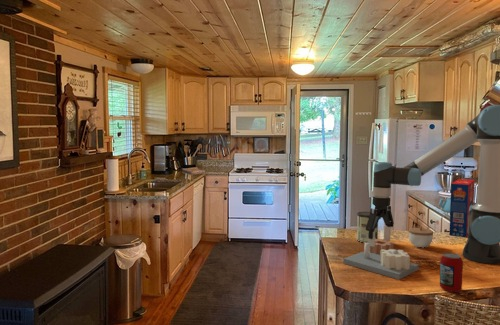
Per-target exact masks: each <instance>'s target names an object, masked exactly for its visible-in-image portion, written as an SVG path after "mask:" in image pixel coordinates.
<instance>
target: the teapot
mask: <svg viewBox="0 0 500 325" xmlns="http://www.w3.org/2000/svg"><path fill="white" fill-rule="evenodd" d="M450 204H451V197H450V198H449V197H447V198H446V199H443V198H441V199H439V202H438V206H439V207H440V208H441V209H442V211H443V212H444V213H448V214H450Z"/></svg>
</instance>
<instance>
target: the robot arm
mask: <svg viewBox="0 0 500 325" xmlns="http://www.w3.org/2000/svg"><path fill="white" fill-rule="evenodd" d="M475 143H479V144H480V148H479V160H478V161H479V163H478V174H477V176H478V177H477V179H478V180H477V192H476V203H474V205H471V206H470V207H469V211H468V212H469V223H468V236H467V240H466V241H465V244H464V247H463V249H462V257H463V258H465V259H466V260H469V261H472V262H477V263H483V264H490V265H491V264H492V265H493V264H494V265H496V264H497V265H498V264H500V104H492V105H489V106H486V107H484V108H483V109H482V110H481V111H480V112H479V113H478V115H476V116H475V117H474V118H473V119H472V120H471V121H469V122H467V123H466V124H465V127H464V128H463V129H461V130H460V131H458V132H456V133H455V134H453V135H452V136H450V137H449V138H447V139H446V140H444V141H442V142H441V143H440V144H438V145H436V146H435V147H433V148H432V149H430V150H429V151H427V152H426V153H424V154H423V155H421V156H420V157H418V158H416V159H415V160H413V161H412V162H410V163H408V164H407V165H406V166H404V167H396V166H393V163H392V162H390V161H388V162H387V161H377V162H375V163H374V164H373V165H374V169H373V182H372V186H373V187H372V195H373V196H372V200H371V201H372V205H373V206H374V208H370V211H369V212H370V215H369V219H368V222H367V225H366V231H369V235H368V243H369V244H370V246H373V247H374V246H375V232H374V230H375V228H376V226H377V223H378V224H379V220H381V219H382V221H383V222H384V230H383V240H385V241H388V242H391V231H392V230H391V229H392V228H393V227H394V224H395V223H394V219H393V217H394V216H393V214H392V206H391V196H392V195H391V194H392V192H391V190H392V185H400V186H401V185H402V186H410V187H413V186H415V187H416V186H417V187H419V186H420V185H421V183H422V177H423V176H425V175H426V174H427V173H429V172H431V171H432V170H434V169H436V168H437V167H439V166H440V165H442V164H443V163H445V162H447V161H449V160H450V159H451V158H453V157H455V156H456V155H458V154H460V153H461V152H463V151H464V150H466V149H467V148H469V147H471V146H473V145H474V144H475Z"/></svg>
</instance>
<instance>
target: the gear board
mask: <svg viewBox="0 0 500 325" xmlns="http://www.w3.org/2000/svg"><path fill="white" fill-rule="evenodd" d="M363 247H364V248H363V250H364V251H361V252H357V253H355V254H352V255H350V256H347V257H344V258H343V264H344V265H348V266H351V267H355V268H358V269H362V270H365V271H369V272H372V273H376V274H378V275H382V276H386V277H389V278H392V279H396V280H401V279H403V278H405V277H407V276H409V275H411V274H413V273H415V272H417V271H418V270H419V265H420V264H416V263H414V262H410V263H409V269H401V270H396V269H395V268H391V269H387V268H385V266H382V265H381V262H380V255H378V254H374V253H370V244H369V243H364V246H363ZM398 250H399V249H394V250H392V254H398Z"/></svg>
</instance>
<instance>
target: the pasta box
mask: <svg viewBox="0 0 500 325" xmlns="http://www.w3.org/2000/svg"><path fill="white" fill-rule="evenodd" d="M475 181H476V180H475V179H462V178H458V179H456V180H455V181H453V182H451V183H450V199H451V204H450V213H449V231H448V232H449V236H451V237H458V238H467V239H468V223H469V212H468V211H469V207H470V206H471V205H475V202H474V201H475V199H474V198H475Z"/></svg>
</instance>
